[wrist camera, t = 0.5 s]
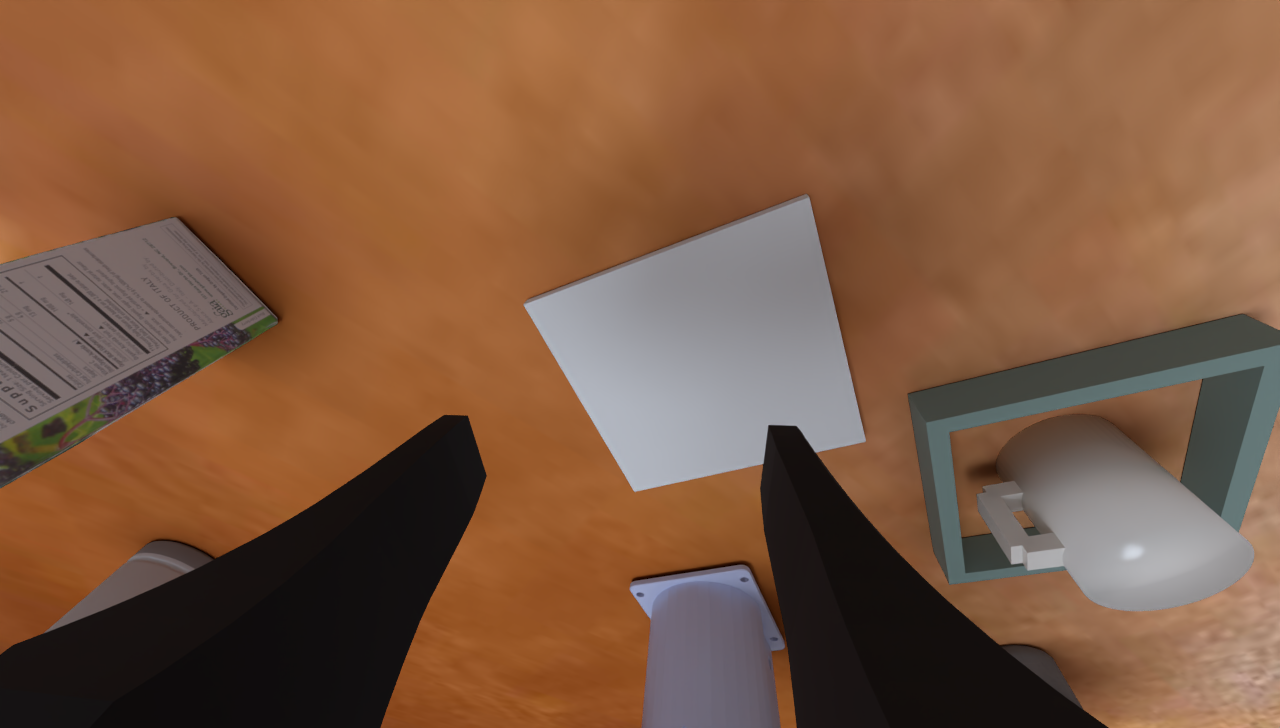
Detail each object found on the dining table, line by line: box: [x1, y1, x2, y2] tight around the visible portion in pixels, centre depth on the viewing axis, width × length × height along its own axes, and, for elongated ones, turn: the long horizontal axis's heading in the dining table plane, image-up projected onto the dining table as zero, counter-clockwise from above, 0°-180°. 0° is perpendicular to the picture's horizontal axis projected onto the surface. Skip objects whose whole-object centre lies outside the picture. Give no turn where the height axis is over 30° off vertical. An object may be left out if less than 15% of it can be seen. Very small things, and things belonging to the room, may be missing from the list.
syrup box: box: [0, 217, 278, 488], centre depth 16 cm, size 6×6×14 cm
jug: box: [977, 414, 1254, 611], centre depth 20 cm, size 7×5×6 cm
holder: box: [908, 314, 1280, 585], centre depth 21 cm, size 12×12×2 cm
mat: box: [524, 194, 866, 492], centre depth 21 cm, size 12×12×1 cm
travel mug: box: [45, 541, 214, 633], centre depth 27 cm, size 6×7×20 cm
